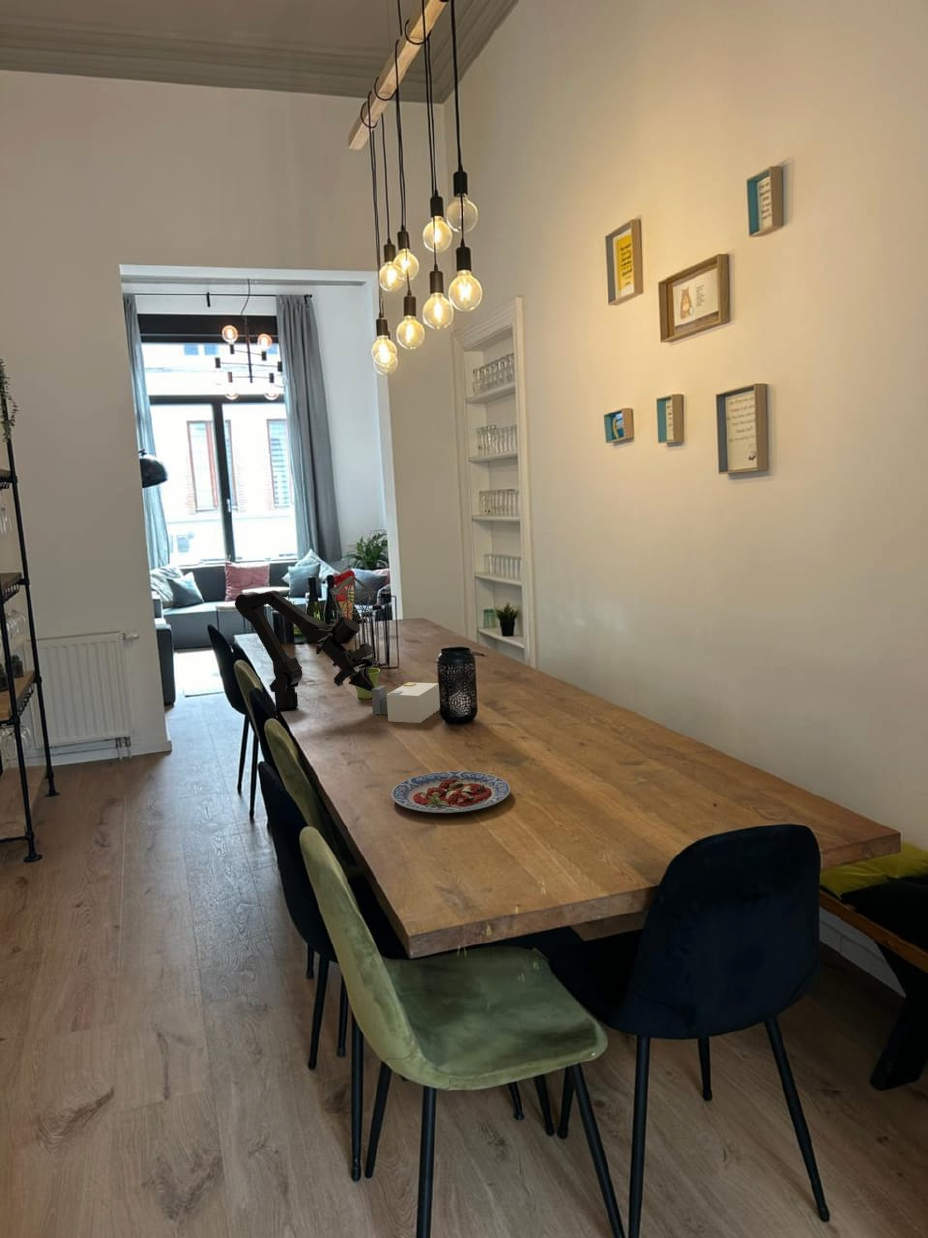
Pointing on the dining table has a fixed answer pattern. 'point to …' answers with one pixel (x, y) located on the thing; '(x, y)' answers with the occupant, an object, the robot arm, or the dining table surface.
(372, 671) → the plant pot
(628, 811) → the dining table surface
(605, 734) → the dining table surface
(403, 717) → the port box
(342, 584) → the geometric lantern
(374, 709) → the plug
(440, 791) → the ceramic plate
